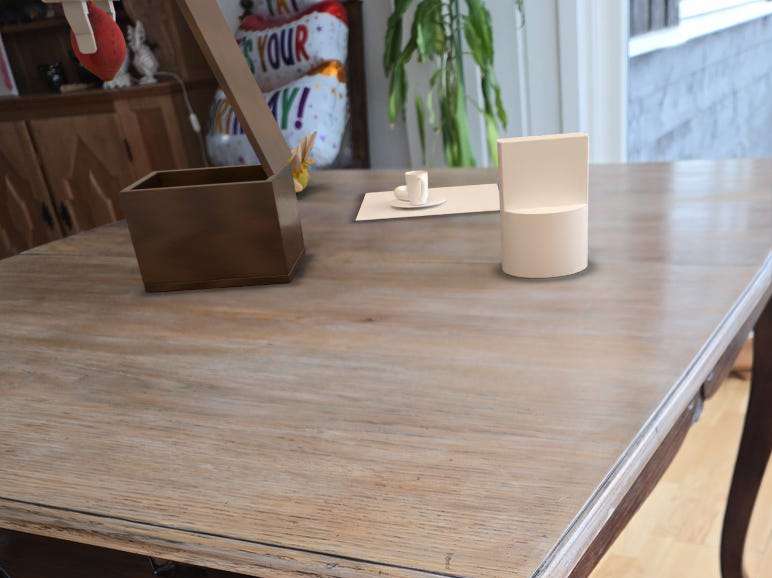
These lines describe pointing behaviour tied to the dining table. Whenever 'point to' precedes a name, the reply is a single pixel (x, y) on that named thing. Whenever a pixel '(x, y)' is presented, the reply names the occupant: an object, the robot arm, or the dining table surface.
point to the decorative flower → (302, 161)
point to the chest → (214, 227)
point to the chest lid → (237, 82)
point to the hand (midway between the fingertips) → (100, 51)
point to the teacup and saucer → (428, 199)
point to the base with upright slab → (544, 204)
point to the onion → (102, 45)
